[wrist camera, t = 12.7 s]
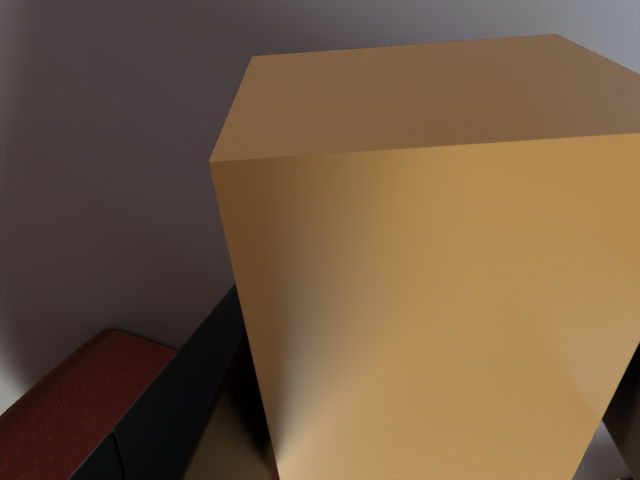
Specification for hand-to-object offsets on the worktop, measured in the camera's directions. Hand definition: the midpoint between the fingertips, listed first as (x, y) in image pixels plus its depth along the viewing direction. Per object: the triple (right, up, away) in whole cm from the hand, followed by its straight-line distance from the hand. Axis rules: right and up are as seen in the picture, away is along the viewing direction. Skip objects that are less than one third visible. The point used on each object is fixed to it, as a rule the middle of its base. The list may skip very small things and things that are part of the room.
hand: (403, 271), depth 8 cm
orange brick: (0, +1, +1) cm, 1 cm away
